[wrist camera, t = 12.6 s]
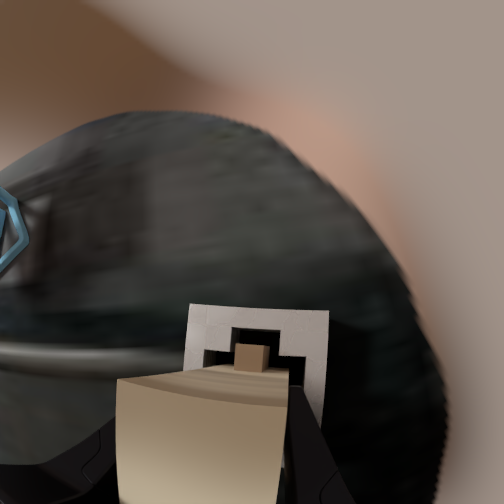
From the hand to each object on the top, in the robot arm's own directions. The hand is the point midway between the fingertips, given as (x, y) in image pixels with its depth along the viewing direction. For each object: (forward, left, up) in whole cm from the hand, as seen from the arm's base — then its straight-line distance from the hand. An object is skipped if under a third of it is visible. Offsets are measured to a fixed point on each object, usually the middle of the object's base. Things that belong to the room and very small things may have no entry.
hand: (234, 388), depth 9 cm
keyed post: (-1, 0, -7) cm, 7 cm away
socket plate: (-1, 0, -7) cm, 7 cm away
